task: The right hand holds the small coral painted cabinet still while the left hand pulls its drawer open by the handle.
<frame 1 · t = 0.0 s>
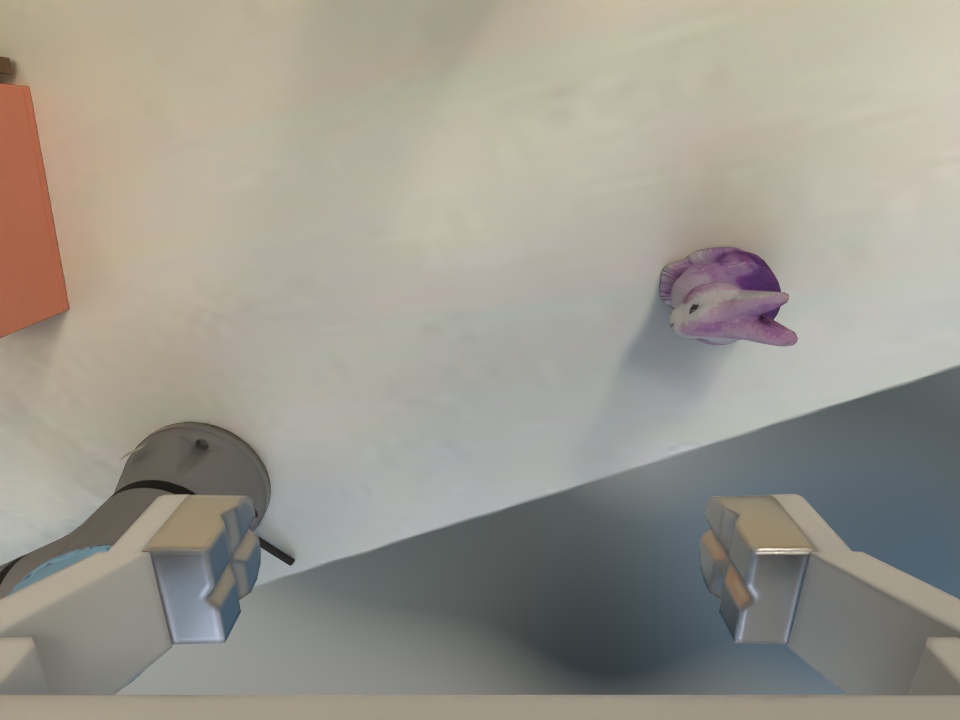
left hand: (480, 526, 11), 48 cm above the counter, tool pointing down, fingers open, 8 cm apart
figurine: (702, 288, 58), on the counter
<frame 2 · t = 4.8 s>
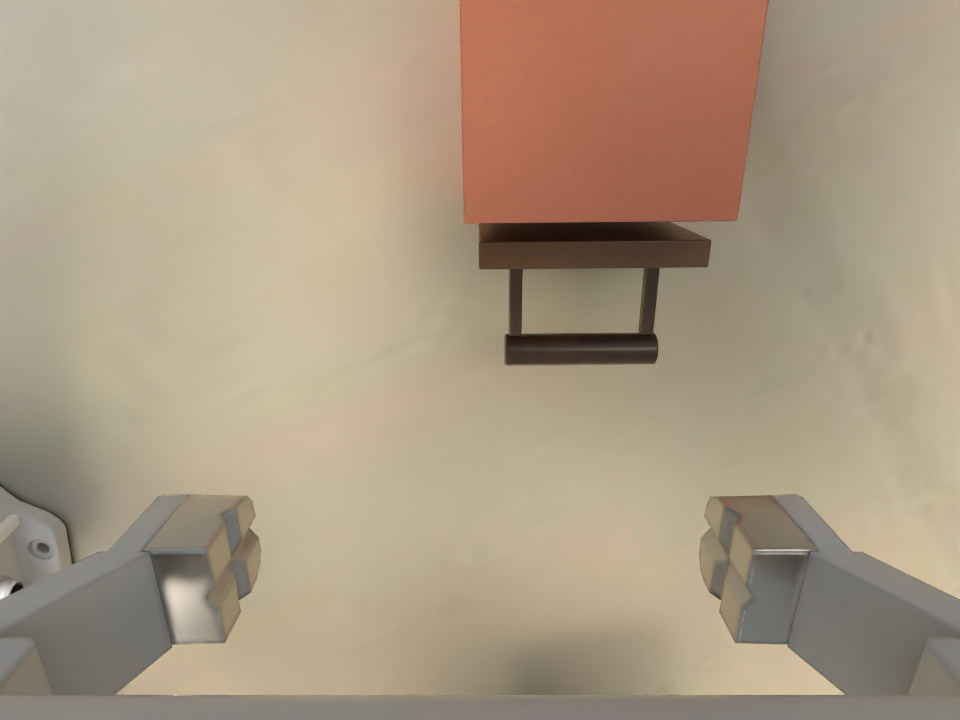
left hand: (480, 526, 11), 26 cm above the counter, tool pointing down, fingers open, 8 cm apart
drawer: (586, 102, 27), point 5 cm above the counter, slide at 0.9 cm
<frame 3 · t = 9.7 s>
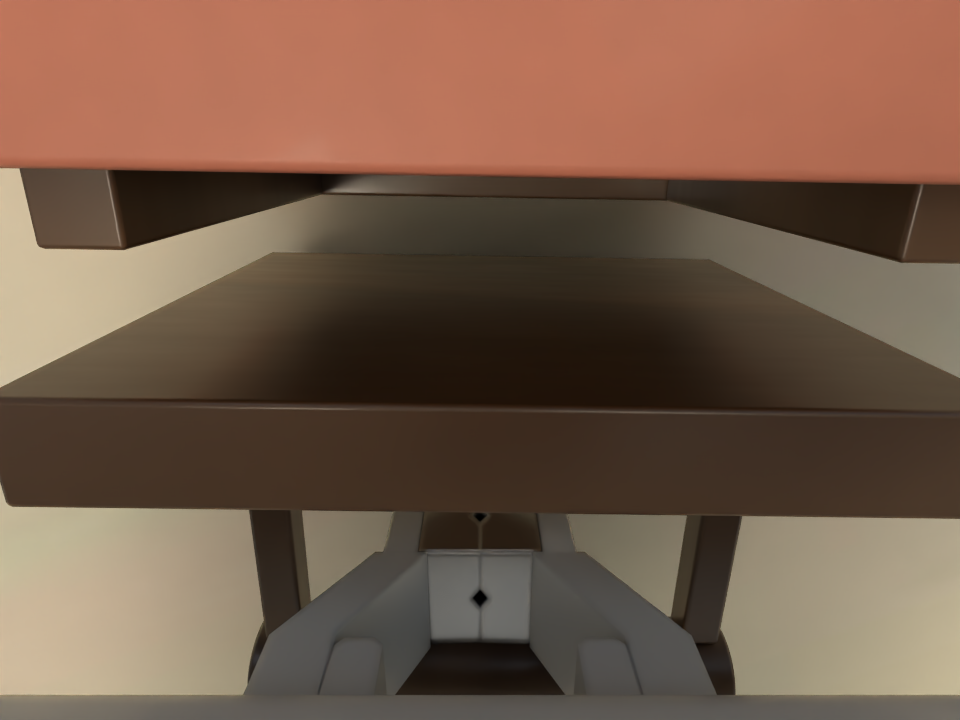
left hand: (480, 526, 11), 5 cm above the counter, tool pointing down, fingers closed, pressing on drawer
when the right hand's fingers open (6 cm above the counter, at t = 12.4 s): cabinet stays where it is, on the counter.
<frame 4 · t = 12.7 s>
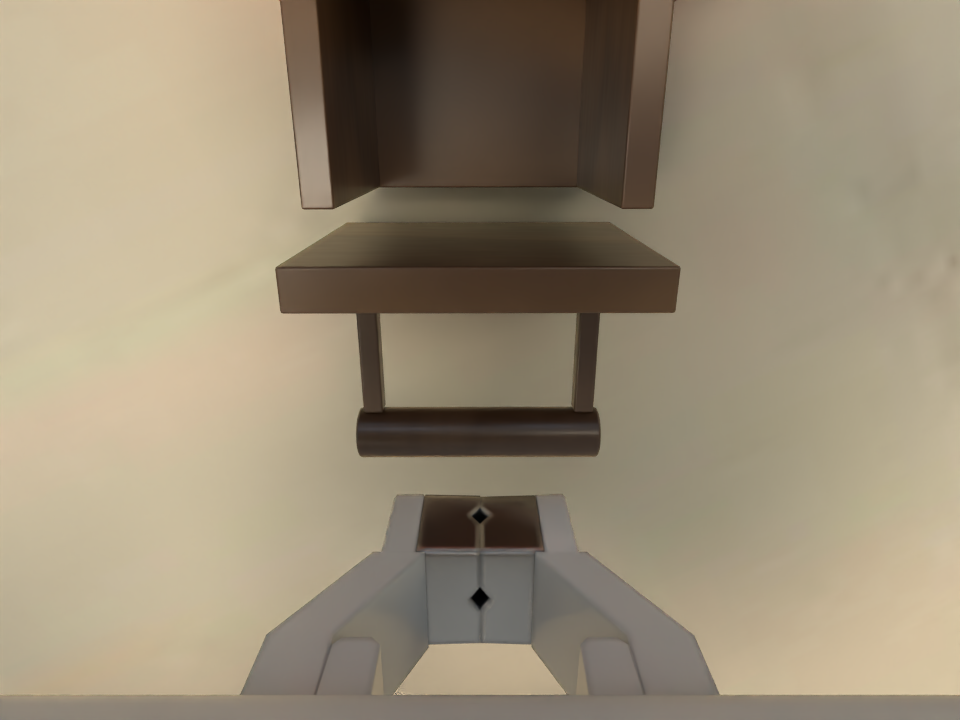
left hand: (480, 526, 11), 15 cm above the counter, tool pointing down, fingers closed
drawer: (477, 33, 16), point 5 cm above the counter, slide at 6.6 cm
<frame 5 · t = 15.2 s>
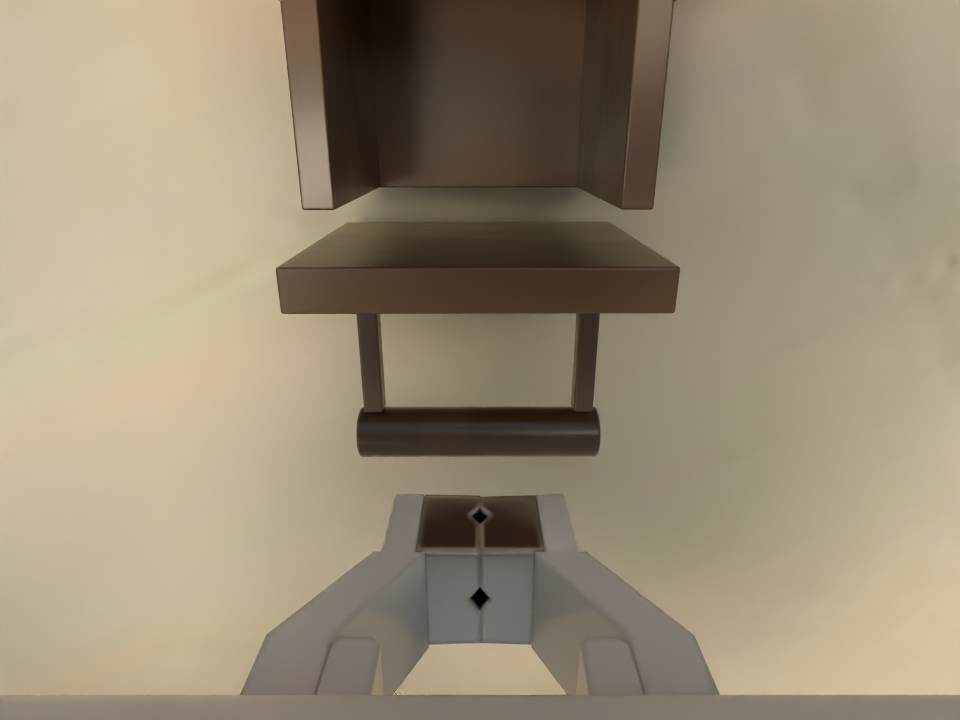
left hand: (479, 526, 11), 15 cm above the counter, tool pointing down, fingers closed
drawer: (477, 34, 16), point 5 cm above the counter, slide at 6.6 cm
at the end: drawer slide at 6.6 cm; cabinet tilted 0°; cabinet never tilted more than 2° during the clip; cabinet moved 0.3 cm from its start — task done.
